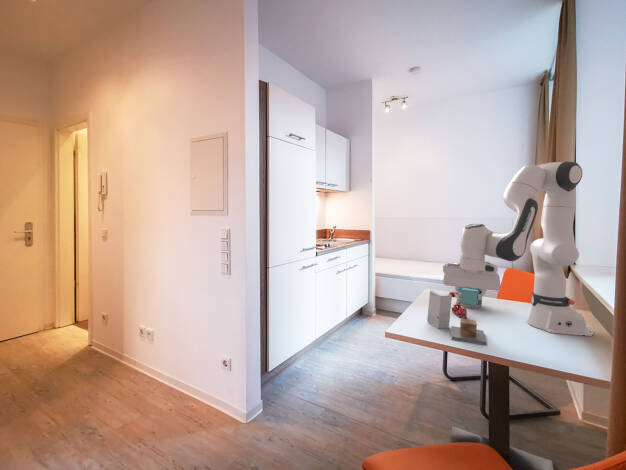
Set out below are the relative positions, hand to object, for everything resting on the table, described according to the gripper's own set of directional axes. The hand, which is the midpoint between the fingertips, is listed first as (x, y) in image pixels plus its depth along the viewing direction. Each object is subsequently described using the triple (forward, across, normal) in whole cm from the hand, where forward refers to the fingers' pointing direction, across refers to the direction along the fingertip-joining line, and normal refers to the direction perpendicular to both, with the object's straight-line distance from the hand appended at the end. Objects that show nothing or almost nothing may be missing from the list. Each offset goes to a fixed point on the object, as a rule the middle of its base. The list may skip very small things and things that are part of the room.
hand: (469, 298), depth 123 cm
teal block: (+2, 0, 0) cm, 2 cm away
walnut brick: (+14, 0, 0) cm, 15 cm away
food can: (+16, +3, +46) cm, 49 cm away
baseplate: (+16, 0, 0) cm, 16 cm away
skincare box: (+16, -11, +8) cm, 21 cm away
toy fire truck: (+16, -3, +28) cm, 32 cm away
